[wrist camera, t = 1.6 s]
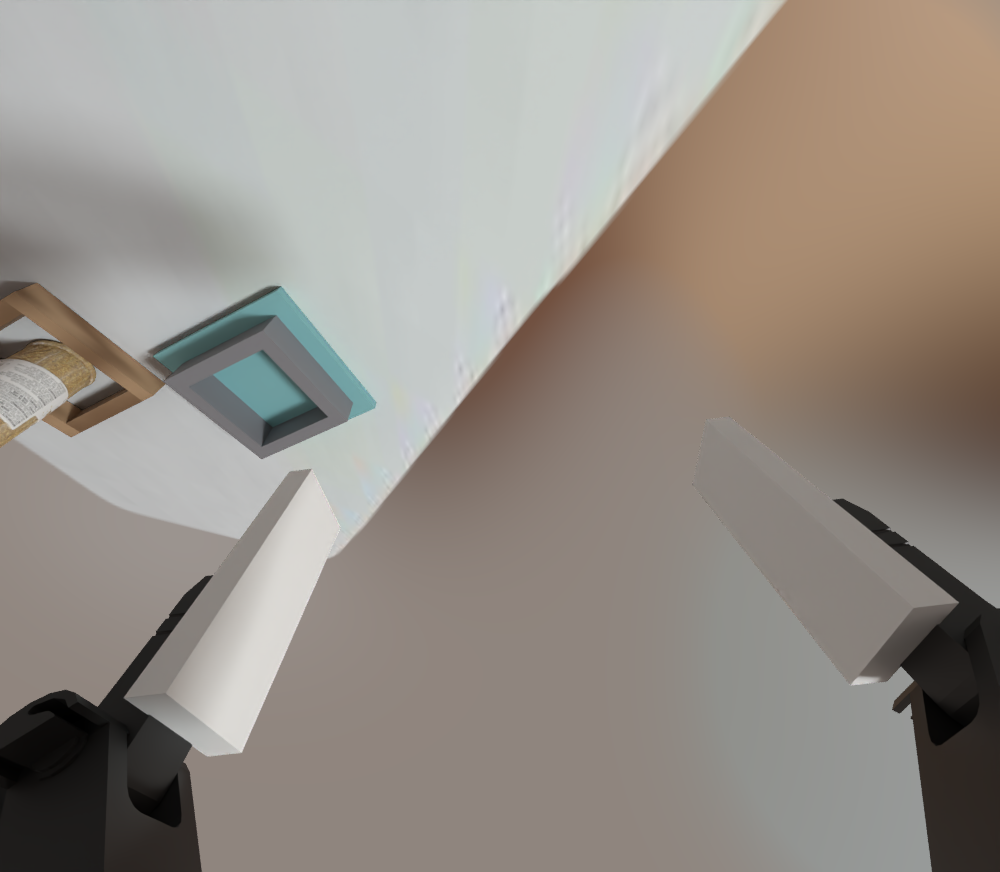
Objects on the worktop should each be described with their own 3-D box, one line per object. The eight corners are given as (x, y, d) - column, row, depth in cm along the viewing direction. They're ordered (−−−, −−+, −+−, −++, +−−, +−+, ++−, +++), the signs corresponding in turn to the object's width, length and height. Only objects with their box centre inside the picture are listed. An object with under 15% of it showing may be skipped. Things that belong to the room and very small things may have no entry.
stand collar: (-52, 337, 29) (-79, 348, 27) (37, 282, 27) (13, 291, 26) (86, 424, 35) (70, 437, 34) (165, 383, 34) (152, 395, 32)
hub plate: (159, 350, 32) (130, 374, 29) (281, 286, 30) (263, 304, 27) (274, 447, 40) (261, 473, 37) (376, 402, 38) (370, 426, 35)
